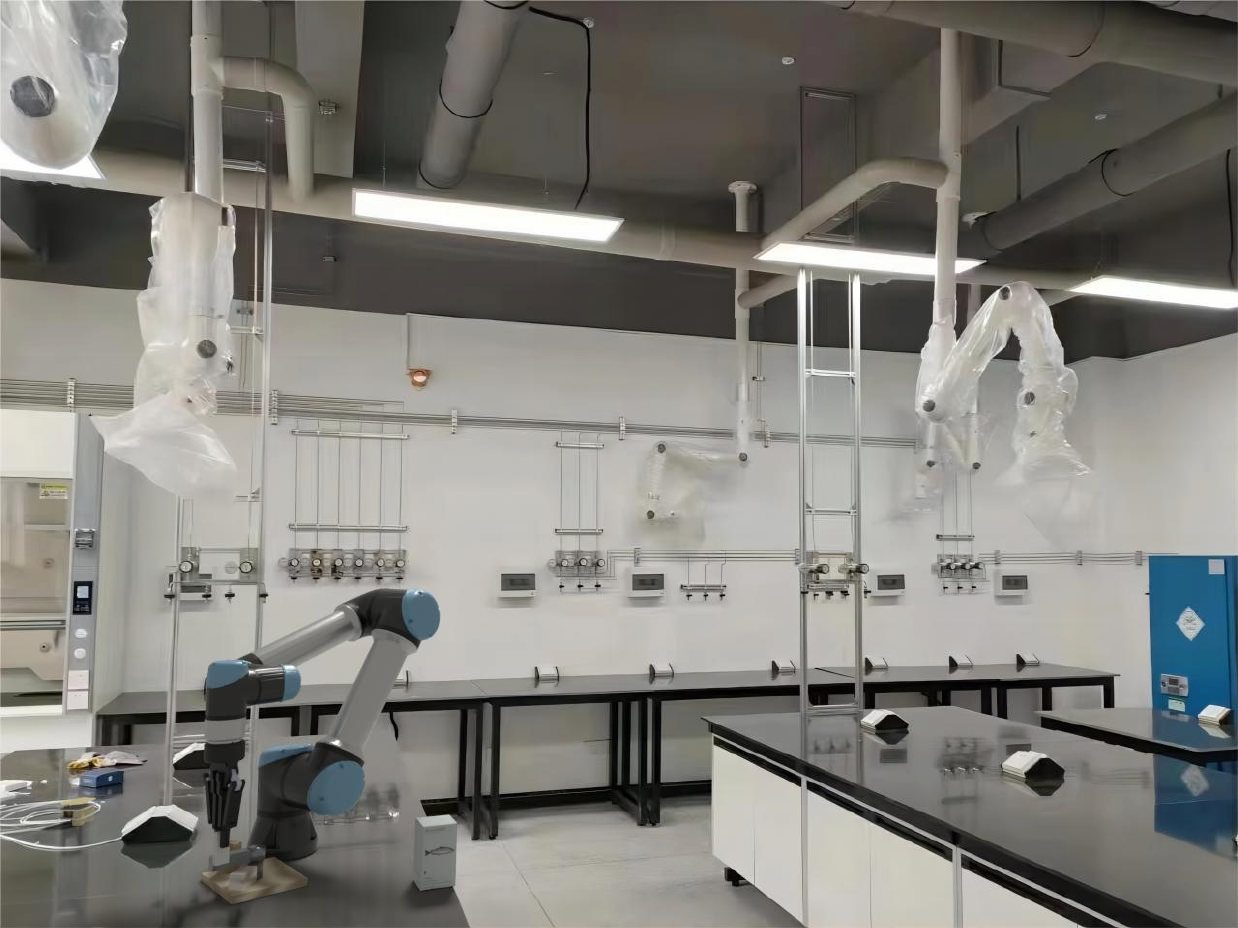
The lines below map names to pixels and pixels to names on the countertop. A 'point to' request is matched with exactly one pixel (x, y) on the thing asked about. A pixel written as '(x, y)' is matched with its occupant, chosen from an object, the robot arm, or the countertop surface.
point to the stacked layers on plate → (78, 811)
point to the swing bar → (241, 857)
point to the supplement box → (435, 852)
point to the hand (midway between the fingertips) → (220, 863)
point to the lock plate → (262, 886)
